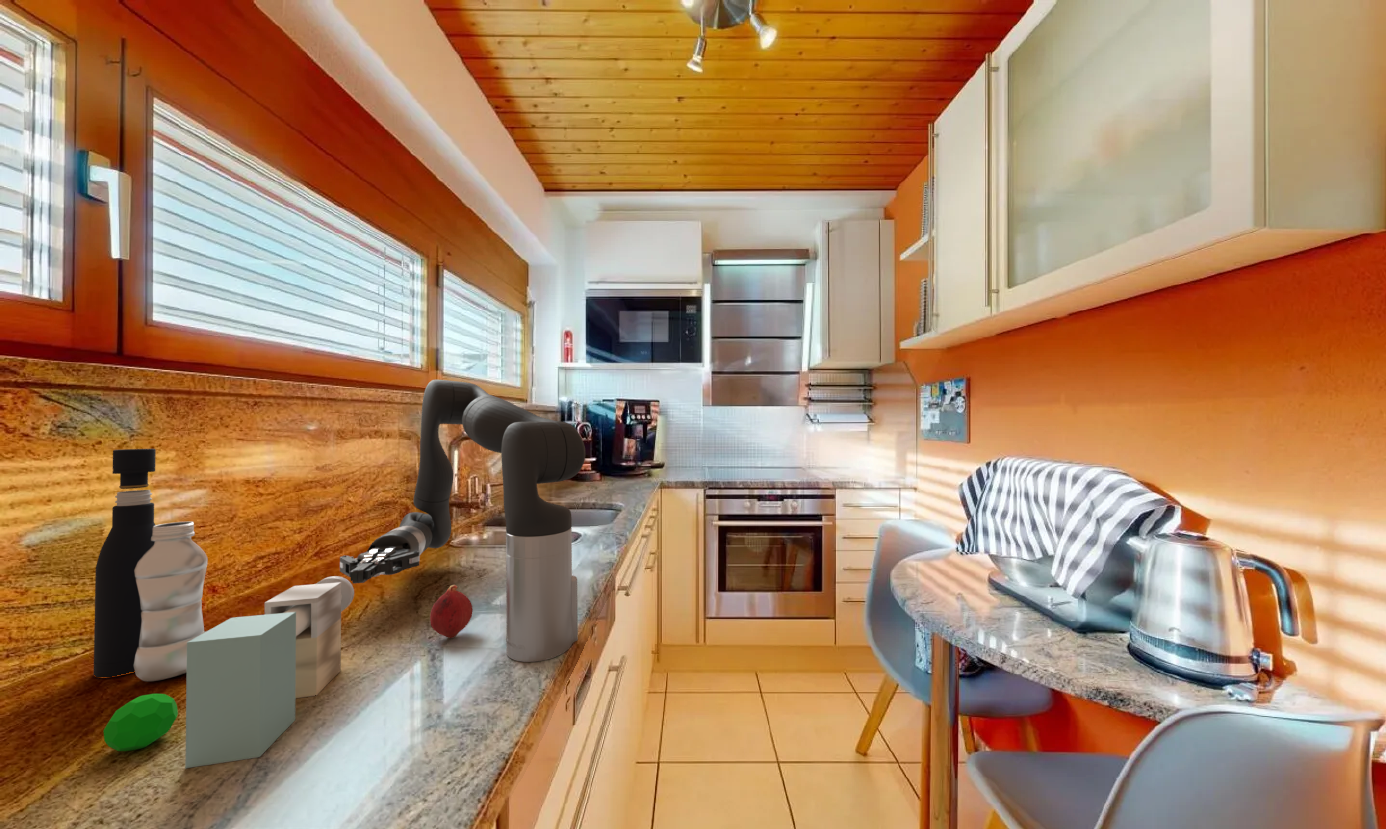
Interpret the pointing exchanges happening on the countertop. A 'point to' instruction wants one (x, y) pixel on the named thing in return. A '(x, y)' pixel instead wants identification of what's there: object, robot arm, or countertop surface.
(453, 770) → the countertop surface
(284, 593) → the sleeve stand
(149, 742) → the polyhedron
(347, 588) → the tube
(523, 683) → the countertop surface
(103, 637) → the wine bottle
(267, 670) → the socket
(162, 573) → the plastic bottle
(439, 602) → the onion
